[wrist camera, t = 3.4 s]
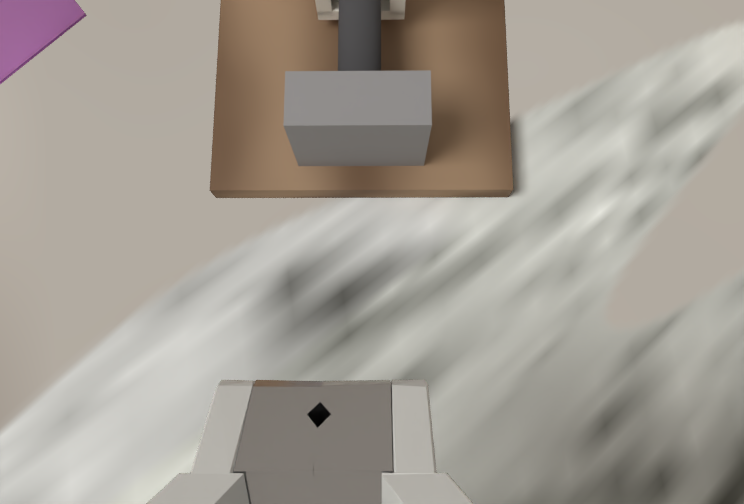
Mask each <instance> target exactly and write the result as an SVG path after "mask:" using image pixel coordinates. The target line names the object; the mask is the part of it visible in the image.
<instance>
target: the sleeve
mask: <svg viewBox="0 0 744 504" xmlns="http://www.w3.org/2000/svg"><path fill="white" fill-rule="evenodd" d="M405 2H406V0H381V20H399V19H404V17H405ZM315 3H316V9H317V15H318V20H339V0H315Z"/></svg>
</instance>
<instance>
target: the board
mask: <svg viewBox="0 0 744 504" xmlns="http://www.w3.org/2000/svg"><path fill="white" fill-rule="evenodd" d="M338 21H339V20H318V15H317V9H316V3H315V0H221V6H220V23H219V40H218V59H217V75H216V92H215V111H214V127H213V128H214V129H213V145H212V162H211V181H210V191H211V192H212V194H213V195H214V196H215V197H216V198H311V197H312V198H324V197H325V198H346V197H509V195H510V194H511V192H512V191H513V174H512V153H511V132H510V112H509V89H508V68H507V48H506V26H505V6H504V0H406V2H405V17H404V19H399V20H381V71H422V70H431V108H432V127H431V132H430V137H429V142H428V147H427V153H426V158H425V163H424V166H298V163H297V161H296V158H295V155H294V153H293V150H292V147H291V145H290V142H289V139H288V137H287V134H286V131H285V128H284V126H283V124H284V94H285V71H338Z"/></svg>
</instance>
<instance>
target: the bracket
mask: <svg viewBox="0 0 744 504" xmlns="http://www.w3.org/2000/svg"><path fill="white" fill-rule="evenodd" d="M86 16H87V15H86V14H85V13H84V11H83V10H82V9H81V8H80V6H79V5H78V4H77V3H76V2H75V0H0V84H1V83H3V82H4V81H5V80H6V79H8V78H9V77H10V76H11V75H13V74H14V73H15V72H16V71H18V70H19V69H20V68H22V67H23V66H24V65H25V64H26V63H28V62H29V61H30V60H32V59H33V58H34V57H35V56H37V55H38V54H39V53H40V52H42V51H43V50H44V49H45V48H46V47H48V46H49V45H50V44H52V43H53V42H54V41H55V40H57V39H58V38H59V37H60V36H62V35H63V34H64V33H65V32H67V31H68V30H69V29H70V28H72V27H73V26H74V25H75V24H76V23H78V22H79V21H81V20H82V19H83V18H84V17H86Z"/></svg>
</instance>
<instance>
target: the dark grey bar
mask: <svg viewBox="0 0 744 504" xmlns="http://www.w3.org/2000/svg"><path fill="white" fill-rule="evenodd" d="M283 126H284V128H285V131H286V134H287V137H288V139H289V142H290V145H291V147H292V150H293V153H294V155H295V158H296V161H297V163H298V166H424V163H425V158H426V153H427V147H428V142H429V137H430V132H431V127H432V108H431V70H422V71H381V0H339V21H338V71H285V94H284V124H283Z"/></svg>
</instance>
